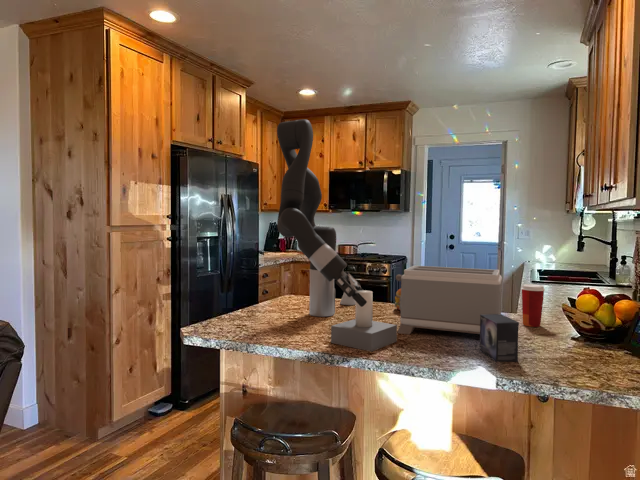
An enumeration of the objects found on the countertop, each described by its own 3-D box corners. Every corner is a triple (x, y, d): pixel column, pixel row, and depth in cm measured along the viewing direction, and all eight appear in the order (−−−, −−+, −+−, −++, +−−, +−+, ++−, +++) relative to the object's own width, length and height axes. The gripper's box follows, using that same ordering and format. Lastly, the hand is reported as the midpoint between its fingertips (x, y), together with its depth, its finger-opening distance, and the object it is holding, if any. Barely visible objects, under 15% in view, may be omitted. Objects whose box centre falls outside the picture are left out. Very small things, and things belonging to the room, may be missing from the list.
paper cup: (546, 325, 166) (548, 285, 165) (539, 328, 160) (540, 287, 160) (523, 321, 171) (525, 283, 171) (515, 325, 166) (517, 285, 165)
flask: (355, 306, 198) (356, 282, 197) (338, 305, 199) (338, 281, 199) (357, 303, 205) (358, 280, 204) (341, 302, 206) (341, 279, 206)
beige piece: (361, 322, 143) (361, 289, 143) (375, 325, 140) (375, 291, 140) (352, 325, 139) (352, 291, 139) (366, 327, 136) (366, 293, 136)
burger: (422, 315, 180) (423, 289, 179) (388, 311, 187) (389, 286, 186) (432, 310, 192) (433, 285, 191) (400, 306, 198) (401, 282, 198)
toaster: (401, 320, 171) (402, 264, 170) (502, 330, 158) (504, 269, 157) (387, 332, 153) (388, 269, 152) (500, 344, 140) (502, 276, 139)
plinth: (357, 333, 150) (357, 318, 150) (396, 341, 141) (396, 324, 141) (330, 342, 139) (331, 325, 139) (371, 351, 130) (371, 333, 130)
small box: (477, 350, 133) (478, 313, 132) (500, 350, 133) (501, 313, 133) (494, 362, 122) (495, 321, 122) (518, 361, 123) (520, 321, 122)
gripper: (333, 255, 133) (373, 297, 132) (340, 251, 147) (376, 289, 146) (314, 273, 135) (354, 315, 133) (323, 268, 149) (358, 306, 147)
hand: (365, 302), depth 140 cm, fingers open, 8 cm apart
